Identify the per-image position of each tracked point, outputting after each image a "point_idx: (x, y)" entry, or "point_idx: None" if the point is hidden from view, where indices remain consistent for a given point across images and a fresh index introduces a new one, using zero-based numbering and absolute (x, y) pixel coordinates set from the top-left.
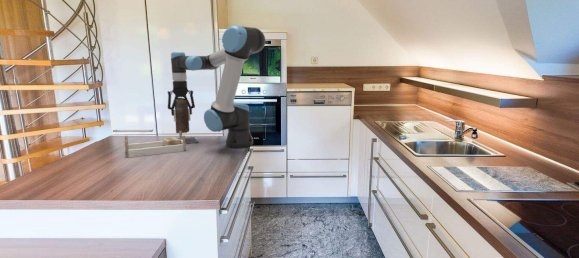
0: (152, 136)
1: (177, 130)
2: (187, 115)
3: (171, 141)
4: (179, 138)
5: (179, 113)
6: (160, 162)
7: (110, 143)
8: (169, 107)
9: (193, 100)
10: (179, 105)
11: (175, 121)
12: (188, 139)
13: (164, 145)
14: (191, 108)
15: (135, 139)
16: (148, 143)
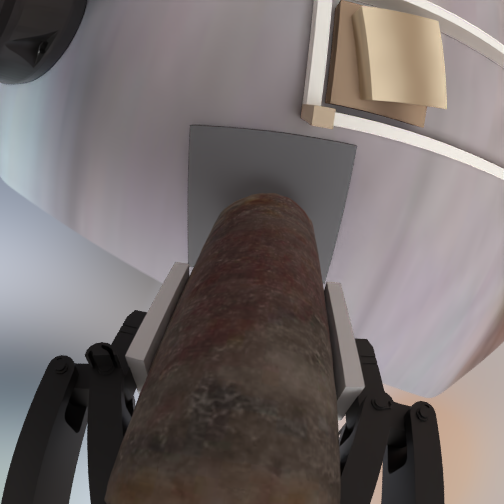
0: None
1: (312, 228)
2: (187, 293)
3: (411, 15)
4: None
5: (300, 318)
6: None
7: (494, 326)
8: (422, 423)
9: (20, 443)
10: (294, 437)
11: (332, 284)
12: None
13: None
14: (94, 350)
15: (425, 348)
16: (486, 161)
